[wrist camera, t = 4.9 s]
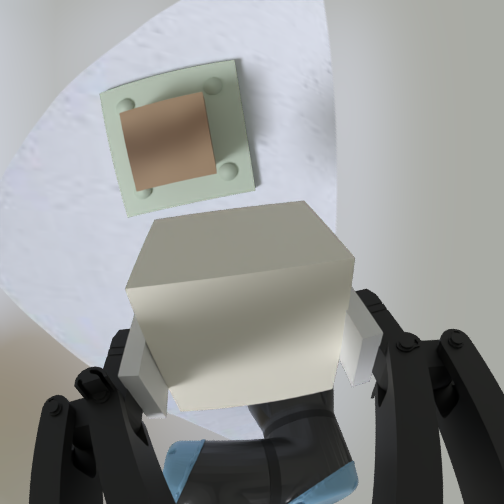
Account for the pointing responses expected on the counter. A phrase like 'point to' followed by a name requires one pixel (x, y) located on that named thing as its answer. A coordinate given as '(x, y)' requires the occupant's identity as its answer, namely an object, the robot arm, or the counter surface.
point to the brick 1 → (168, 141)
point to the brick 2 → (243, 304)
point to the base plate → (221, 128)
